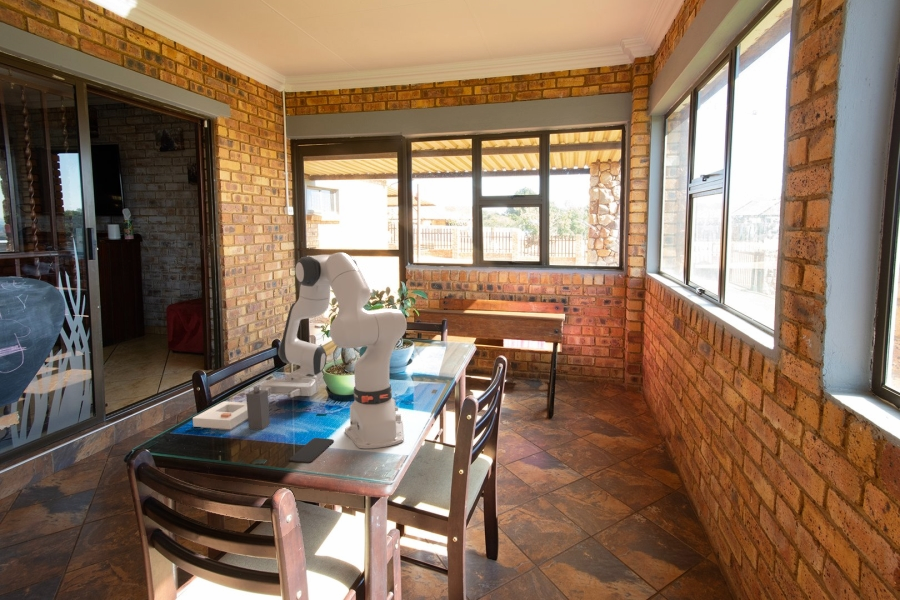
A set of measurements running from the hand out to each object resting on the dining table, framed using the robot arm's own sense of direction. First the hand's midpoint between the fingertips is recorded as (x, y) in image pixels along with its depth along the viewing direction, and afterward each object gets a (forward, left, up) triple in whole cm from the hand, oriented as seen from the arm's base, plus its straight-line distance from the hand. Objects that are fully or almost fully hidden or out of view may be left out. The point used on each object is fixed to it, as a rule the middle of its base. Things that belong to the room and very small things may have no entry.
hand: (277, 394), depth 177 cm
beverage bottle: (+20, -35, -7) cm, 41 cm away
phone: (-35, -10, -8) cm, 37 cm away
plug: (-10, +6, -7) cm, 14 cm away
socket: (0, +17, -7) cm, 18 cm away
